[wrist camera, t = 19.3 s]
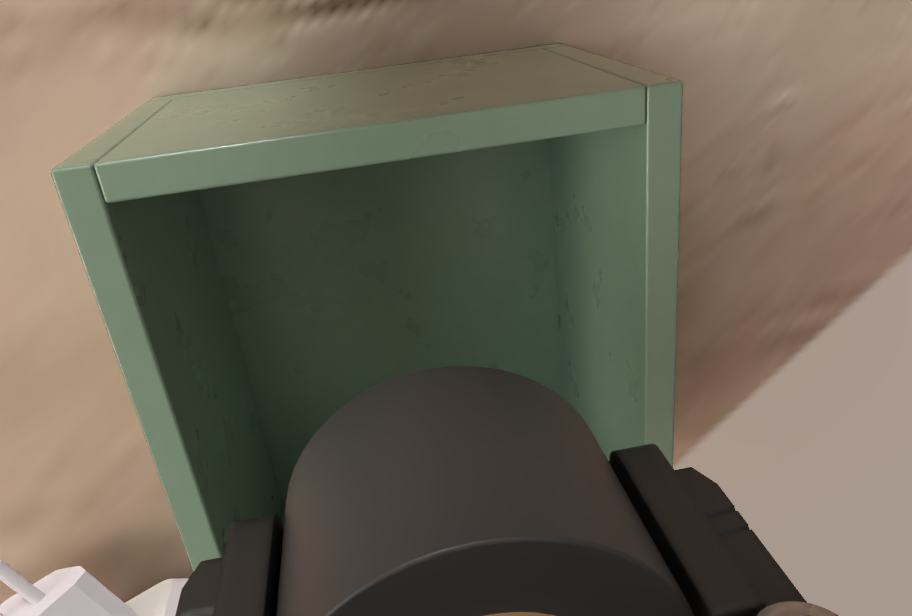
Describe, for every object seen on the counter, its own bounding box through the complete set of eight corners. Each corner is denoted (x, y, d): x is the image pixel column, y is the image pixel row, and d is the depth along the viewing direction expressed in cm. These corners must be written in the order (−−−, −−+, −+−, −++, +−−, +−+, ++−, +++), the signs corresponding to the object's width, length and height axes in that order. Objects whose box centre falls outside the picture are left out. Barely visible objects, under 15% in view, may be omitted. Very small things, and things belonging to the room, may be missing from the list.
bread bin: (151, 97, 22) (47, 170, 14) (561, 42, 23) (684, 80, 15) (266, 505, 28) (242, 711, 20) (579, 447, 30) (670, 620, 22)
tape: (319, 647, 14) (316, 890, 10) (251, 397, 11) (213, 599, 8) (606, 588, 14) (700, 800, 11) (599, 338, 12) (718, 500, 8)
